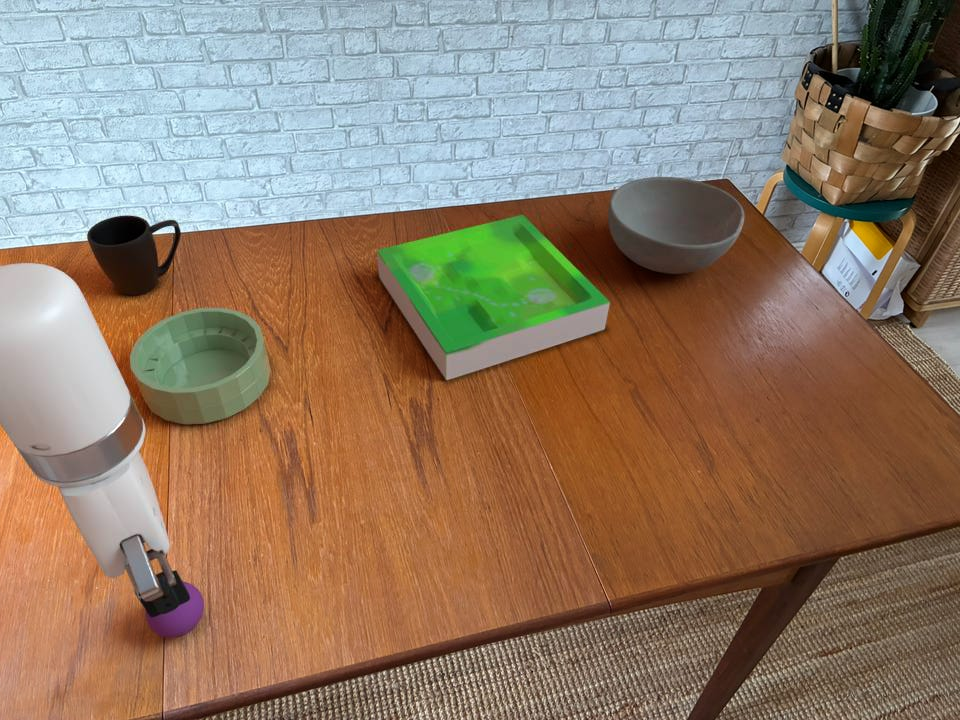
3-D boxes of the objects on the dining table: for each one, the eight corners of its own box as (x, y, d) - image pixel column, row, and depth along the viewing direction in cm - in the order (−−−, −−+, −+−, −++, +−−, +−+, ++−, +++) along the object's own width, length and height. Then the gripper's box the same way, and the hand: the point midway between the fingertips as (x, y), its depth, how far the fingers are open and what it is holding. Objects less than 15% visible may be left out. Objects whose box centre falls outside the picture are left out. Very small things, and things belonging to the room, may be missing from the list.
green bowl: (235, 438, 84) (224, 403, 80) (118, 412, 87) (102, 377, 82) (290, 353, 95) (283, 319, 91) (186, 333, 98) (175, 298, 94)
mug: (199, 284, 106) (182, 230, 99) (114, 308, 101) (91, 252, 95) (186, 256, 111) (170, 203, 104) (104, 277, 106) (82, 223, 100)
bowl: (609, 217, 124) (619, 165, 117) (728, 237, 120) (745, 185, 113) (591, 282, 109) (601, 227, 102) (726, 308, 106) (745, 252, 99)
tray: (520, 240, 117) (522, 214, 114) (604, 329, 101) (610, 302, 98) (379, 277, 109) (376, 250, 105) (446, 380, 92) (446, 352, 89)
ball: (191, 653, 65) (177, 627, 62) (143, 640, 66) (126, 614, 63) (218, 604, 69) (207, 577, 65) (172, 592, 70) (158, 565, 66)
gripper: (7, 374, 52) (91, 506, 64) (39, 550, 42) (133, 670, 54) (113, 339, 55) (175, 472, 67) (168, 497, 45) (230, 621, 57)
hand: (156, 560), depth 60 cm, fingers open, 9 cm apart
